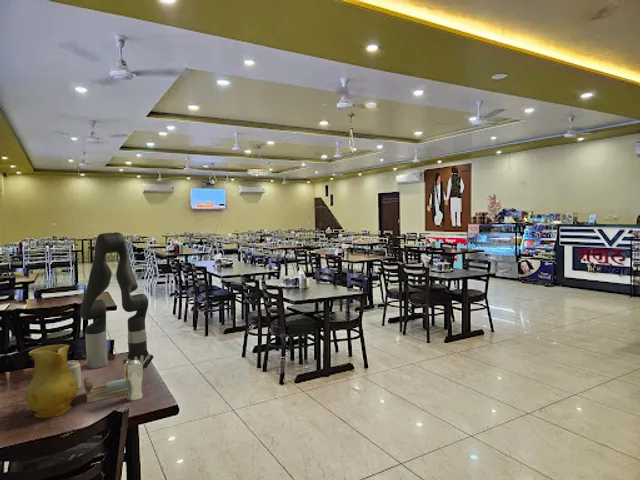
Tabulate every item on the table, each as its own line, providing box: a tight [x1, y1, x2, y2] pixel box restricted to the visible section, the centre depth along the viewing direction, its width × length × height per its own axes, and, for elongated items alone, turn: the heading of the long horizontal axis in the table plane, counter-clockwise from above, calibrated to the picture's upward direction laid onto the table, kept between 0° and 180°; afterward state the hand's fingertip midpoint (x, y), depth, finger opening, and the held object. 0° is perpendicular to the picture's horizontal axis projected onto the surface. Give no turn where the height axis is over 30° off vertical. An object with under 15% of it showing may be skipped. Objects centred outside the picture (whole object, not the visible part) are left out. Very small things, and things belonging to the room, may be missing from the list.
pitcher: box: [25, 343, 79, 419], centre depth 166 cm, size 17×19×25 cm
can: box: [67, 359, 82, 390], centre depth 185 cm, size 8×8×12 cm
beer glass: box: [123, 359, 144, 402], centre depth 176 cm, size 7×7×15 cm
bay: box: [83, 376, 128, 404], centre depth 180 cm, size 11×17×7 cm, turn 122°
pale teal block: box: [104, 378, 127, 393], centre depth 183 cm, size 6×8×4 cm
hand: (139, 378), depth 187 cm, fingers closed
